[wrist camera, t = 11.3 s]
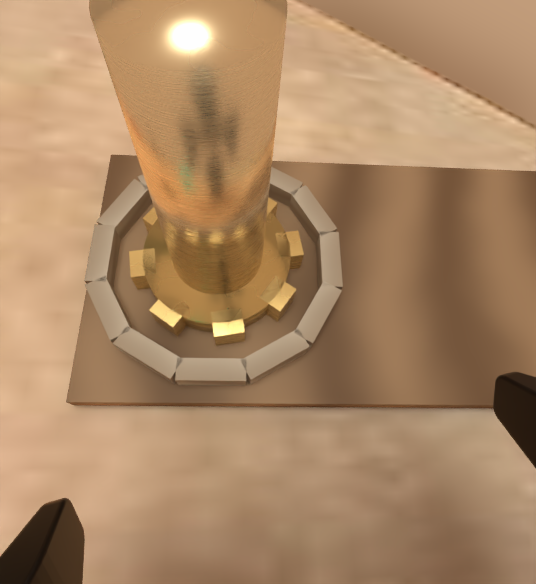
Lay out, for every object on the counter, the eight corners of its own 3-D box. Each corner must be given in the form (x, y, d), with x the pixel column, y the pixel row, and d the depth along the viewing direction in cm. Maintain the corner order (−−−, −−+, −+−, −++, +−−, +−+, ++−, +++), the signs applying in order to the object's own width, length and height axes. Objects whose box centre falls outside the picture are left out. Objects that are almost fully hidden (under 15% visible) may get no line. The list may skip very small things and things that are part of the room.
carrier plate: (532, 181, 27) (556, 158, 25) (600, 408, 21) (638, 402, 19) (115, 166, 25) (104, 139, 23) (74, 405, 20) (55, 397, 18)
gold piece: (282, 191, 24) (327, -107, 11) (314, 330, 21) (423, 126, 8) (132, 208, 23) (3, -100, 10) (142, 357, 20) (-26, 169, 7)
